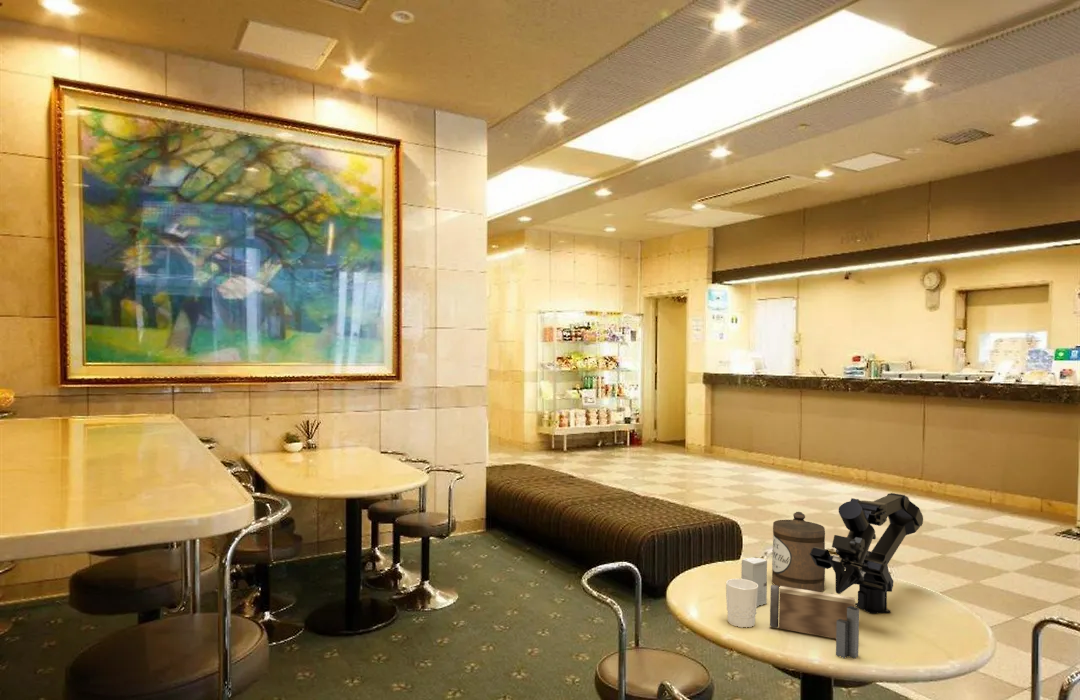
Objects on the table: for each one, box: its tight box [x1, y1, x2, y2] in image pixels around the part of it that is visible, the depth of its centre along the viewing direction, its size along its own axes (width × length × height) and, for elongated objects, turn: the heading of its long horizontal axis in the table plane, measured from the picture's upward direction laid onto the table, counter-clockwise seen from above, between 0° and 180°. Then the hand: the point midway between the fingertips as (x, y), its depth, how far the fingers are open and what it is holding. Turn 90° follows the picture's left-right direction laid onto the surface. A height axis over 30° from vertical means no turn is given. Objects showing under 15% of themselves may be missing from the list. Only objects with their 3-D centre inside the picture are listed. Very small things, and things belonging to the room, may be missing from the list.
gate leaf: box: [769, 584, 856, 639], centre depth 163 cm, size 19×2×10 cm, turn 66°
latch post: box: [835, 606, 860, 659], centre depth 151 cm, size 4×4×11 cm
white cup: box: [725, 578, 758, 629], centre depth 169 cm, size 8×8×10 cm
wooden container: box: [771, 511, 826, 593], centre depth 198 cm, size 15×15×22 cm
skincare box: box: [740, 556, 768, 607], centre depth 183 cm, size 6×4×12 cm
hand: (837, 592), depth 167 cm, fingers closed
